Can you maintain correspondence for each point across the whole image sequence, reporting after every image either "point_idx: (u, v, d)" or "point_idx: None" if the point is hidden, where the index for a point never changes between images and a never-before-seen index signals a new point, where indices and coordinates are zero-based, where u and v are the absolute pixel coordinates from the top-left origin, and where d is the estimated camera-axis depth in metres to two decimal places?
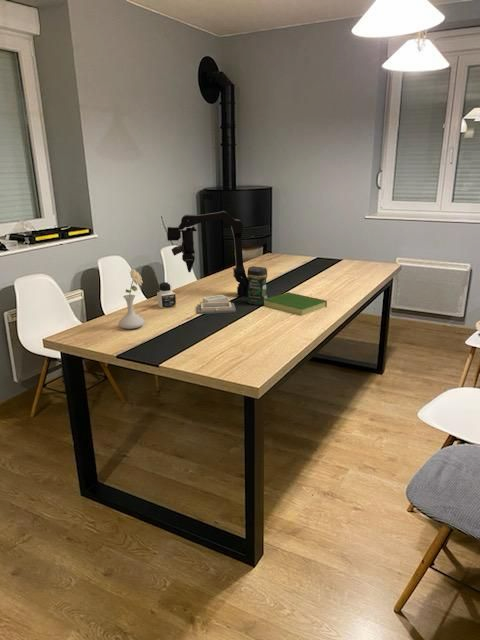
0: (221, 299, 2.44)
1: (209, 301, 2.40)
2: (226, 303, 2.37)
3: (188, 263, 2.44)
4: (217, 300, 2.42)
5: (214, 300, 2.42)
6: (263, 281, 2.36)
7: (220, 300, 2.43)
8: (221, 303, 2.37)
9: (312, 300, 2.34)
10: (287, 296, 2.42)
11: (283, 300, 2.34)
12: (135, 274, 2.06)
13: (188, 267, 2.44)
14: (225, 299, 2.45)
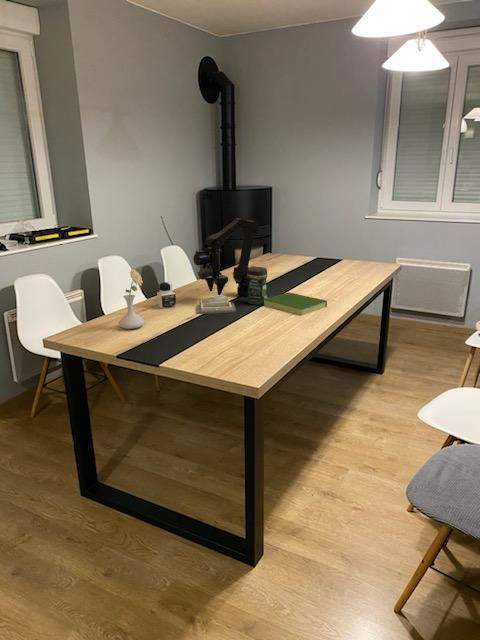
0: (221, 299, 2.44)
1: (210, 301, 2.40)
2: (226, 303, 2.37)
3: (219, 286, 2.38)
4: (218, 300, 2.43)
5: (215, 300, 2.42)
6: (263, 281, 2.36)
7: (220, 300, 2.44)
8: (221, 303, 2.37)
9: (312, 300, 2.34)
10: (287, 296, 2.42)
11: (283, 300, 2.34)
12: (135, 274, 2.06)
13: (219, 290, 2.39)
14: (225, 299, 2.45)
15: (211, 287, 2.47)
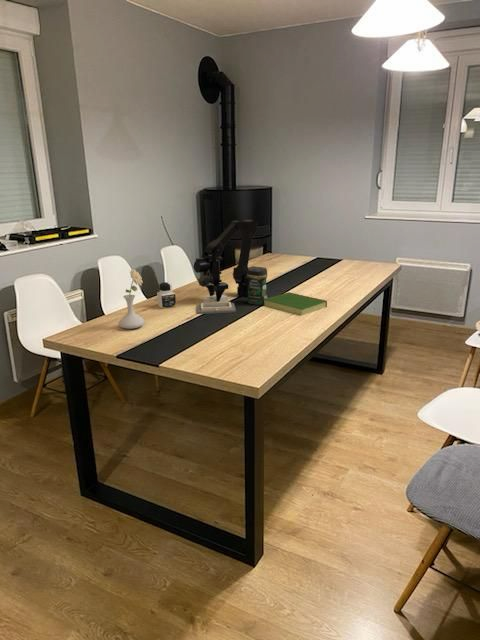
0: (221, 298, 2.44)
1: (210, 301, 2.40)
2: (226, 303, 2.37)
3: (218, 292, 2.40)
4: None
5: (215, 299, 2.42)
6: (263, 281, 2.36)
7: (221, 299, 2.44)
8: (221, 303, 2.37)
9: (312, 300, 2.34)
10: (287, 296, 2.42)
11: (283, 300, 2.34)
12: (135, 274, 2.06)
13: (218, 296, 2.41)
14: (225, 298, 2.45)
15: (212, 294, 2.47)
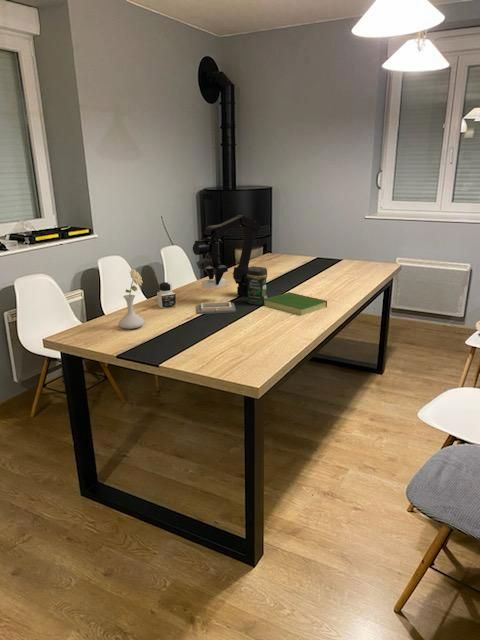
0: (221, 282, 2.41)
1: (209, 284, 2.37)
2: (226, 303, 2.37)
3: (217, 275, 2.37)
4: None
5: (214, 283, 2.39)
6: (263, 281, 2.36)
7: (220, 283, 2.41)
8: (221, 303, 2.37)
9: (312, 300, 2.34)
10: (288, 296, 2.42)
11: (283, 300, 2.34)
12: (135, 274, 2.06)
13: (217, 279, 2.38)
14: (224, 282, 2.42)
15: (211, 278, 2.45)
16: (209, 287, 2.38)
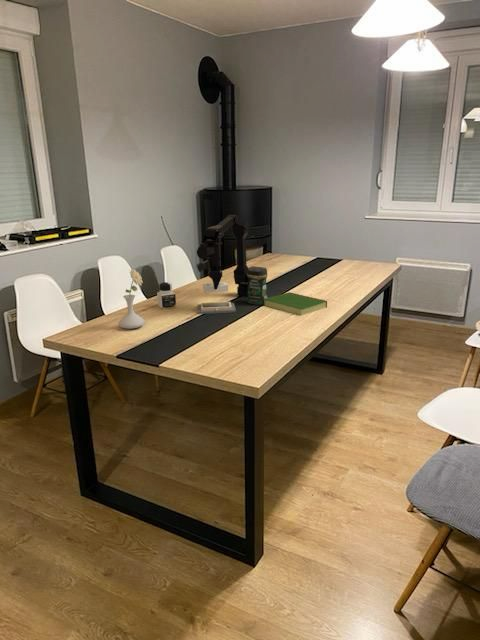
0: (220, 287, 2.28)
1: (206, 287, 2.27)
2: (226, 303, 2.37)
3: (215, 280, 2.25)
4: None
5: (212, 287, 2.27)
6: (263, 281, 2.36)
7: (219, 288, 2.28)
8: (221, 303, 2.37)
9: (313, 300, 2.34)
10: (288, 296, 2.42)
11: (283, 300, 2.34)
12: (135, 274, 2.06)
13: (214, 284, 2.26)
14: (225, 287, 2.28)
15: None
16: (206, 291, 2.27)
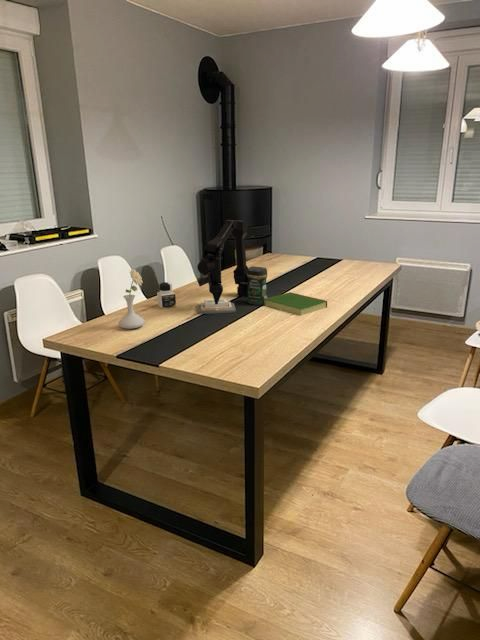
0: (221, 304, 2.30)
1: (207, 304, 2.29)
2: None
3: (215, 295, 2.26)
4: (216, 304, 2.30)
5: (212, 304, 2.30)
6: (263, 281, 2.36)
7: (219, 305, 2.30)
8: None
9: (313, 300, 2.34)
10: (288, 296, 2.42)
11: (283, 300, 2.34)
12: (135, 274, 2.06)
13: (215, 299, 2.26)
14: (225, 304, 2.31)
15: None
16: None
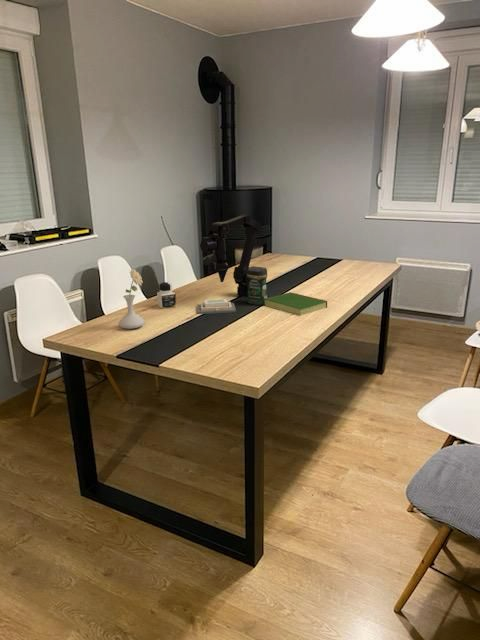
0: (221, 304, 2.30)
1: (207, 304, 2.29)
2: None
3: (221, 273, 2.35)
4: (216, 304, 2.30)
5: (212, 304, 2.30)
6: (263, 281, 2.36)
7: (219, 305, 2.30)
8: None
9: (313, 300, 2.34)
10: (288, 296, 2.42)
11: (283, 300, 2.35)
12: (135, 274, 2.06)
13: (221, 277, 2.36)
14: (225, 304, 2.31)
15: None
16: None
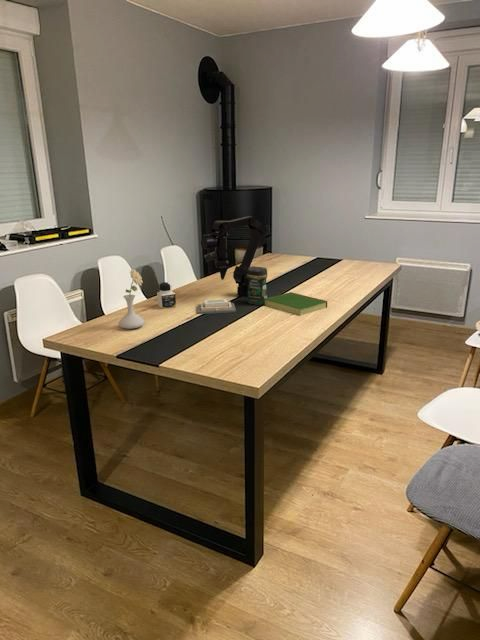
0: (221, 304, 2.30)
1: (207, 304, 2.29)
2: None
3: (221, 270, 2.38)
4: (216, 304, 2.30)
5: (212, 304, 2.30)
6: (263, 281, 2.36)
7: (219, 305, 2.30)
8: None
9: (313, 300, 2.34)
10: (288, 296, 2.42)
11: (284, 300, 2.35)
12: (135, 274, 2.06)
13: (221, 274, 2.39)
14: (225, 304, 2.31)
15: None
16: None
